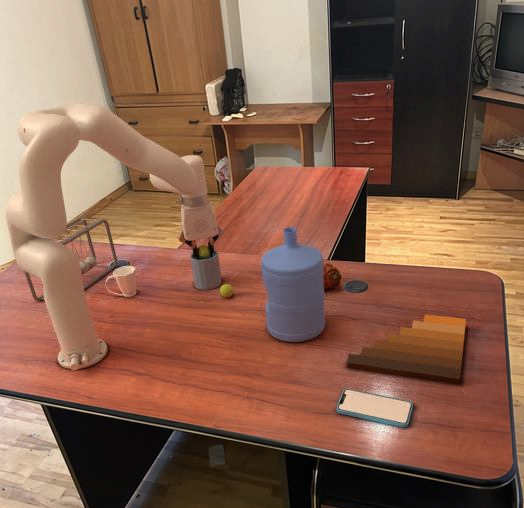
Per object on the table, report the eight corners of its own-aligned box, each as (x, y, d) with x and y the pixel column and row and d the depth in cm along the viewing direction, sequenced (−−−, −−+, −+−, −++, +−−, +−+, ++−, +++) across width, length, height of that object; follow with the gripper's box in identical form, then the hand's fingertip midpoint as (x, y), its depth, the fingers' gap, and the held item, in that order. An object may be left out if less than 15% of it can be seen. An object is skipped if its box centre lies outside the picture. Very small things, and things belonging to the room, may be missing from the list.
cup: (142, 296, 168) (137, 272, 164) (109, 303, 166) (103, 279, 162) (139, 286, 174) (134, 263, 170) (107, 293, 172) (101, 270, 168)
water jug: (337, 324, 146) (335, 225, 131) (298, 350, 137) (292, 248, 122) (293, 306, 155) (288, 213, 141) (254, 330, 146) (244, 233, 132)
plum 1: (212, 258, 166) (210, 247, 164) (199, 261, 166) (197, 249, 163) (209, 253, 170) (208, 242, 167) (197, 256, 169) (195, 244, 167)
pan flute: (347, 369, 128) (458, 386, 120) (346, 358, 127) (460, 374, 118) (367, 315, 148) (464, 326, 140) (367, 304, 146) (466, 315, 138)
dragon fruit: (343, 296, 161) (306, 296, 167) (348, 270, 164) (311, 271, 169) (335, 283, 154) (296, 283, 160) (339, 256, 157) (301, 258, 162)
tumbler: (224, 286, 169) (220, 257, 164) (196, 291, 168) (192, 262, 163) (219, 274, 176) (215, 246, 171) (192, 279, 175) (188, 251, 170)
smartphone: (407, 425, 110) (335, 409, 115) (407, 429, 111) (335, 413, 116) (413, 401, 116) (344, 387, 121) (413, 406, 116) (344, 391, 122)
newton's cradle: (59, 308, 166) (42, 255, 157) (34, 303, 170) (16, 251, 161) (119, 265, 189) (107, 217, 180) (95, 262, 193) (82, 214, 184)
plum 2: (235, 298, 162) (233, 286, 160) (222, 301, 162) (220, 289, 160) (232, 292, 166) (231, 280, 164) (219, 294, 165) (218, 283, 163)
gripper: (168, 208, 153) (179, 267, 163) (226, 199, 156) (233, 257, 166) (165, 200, 160) (176, 257, 169) (221, 191, 162) (228, 247, 172)
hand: (204, 256), depth 167 cm, fingers closed on plum 1, 3 cm apart
